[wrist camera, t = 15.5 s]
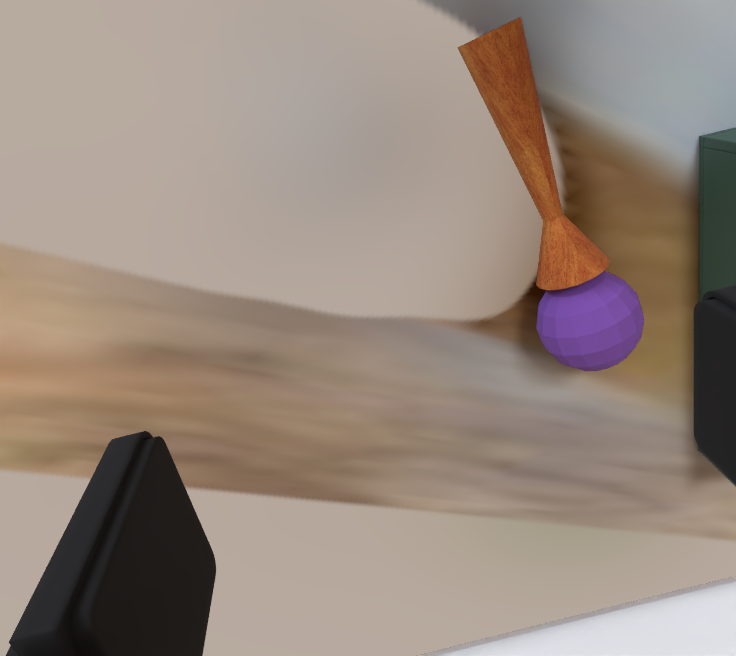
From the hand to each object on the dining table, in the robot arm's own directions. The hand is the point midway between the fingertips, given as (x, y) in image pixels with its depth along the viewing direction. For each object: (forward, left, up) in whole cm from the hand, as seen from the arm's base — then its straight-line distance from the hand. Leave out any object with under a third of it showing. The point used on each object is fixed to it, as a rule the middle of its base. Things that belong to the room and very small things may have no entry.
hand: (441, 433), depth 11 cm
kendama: (+4, +11, -26) cm, 29 cm away
